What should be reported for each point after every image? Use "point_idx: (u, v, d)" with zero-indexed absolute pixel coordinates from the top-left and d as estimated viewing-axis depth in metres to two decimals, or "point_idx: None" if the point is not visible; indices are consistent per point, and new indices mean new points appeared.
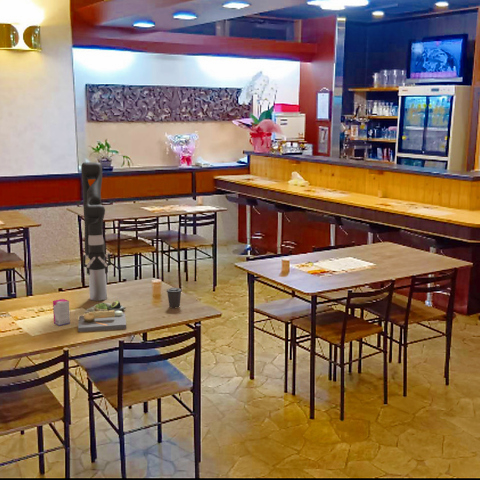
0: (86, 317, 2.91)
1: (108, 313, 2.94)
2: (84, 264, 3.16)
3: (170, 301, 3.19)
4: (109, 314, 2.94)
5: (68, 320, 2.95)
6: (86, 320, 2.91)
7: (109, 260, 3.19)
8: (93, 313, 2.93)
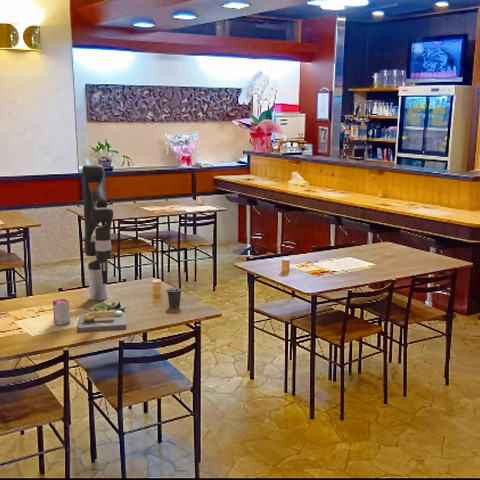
0: (86, 317, 2.91)
1: (108, 313, 2.94)
2: None
3: (170, 301, 3.19)
4: (109, 314, 2.94)
5: (68, 320, 2.95)
6: (86, 320, 2.91)
7: None
8: (93, 313, 2.93)
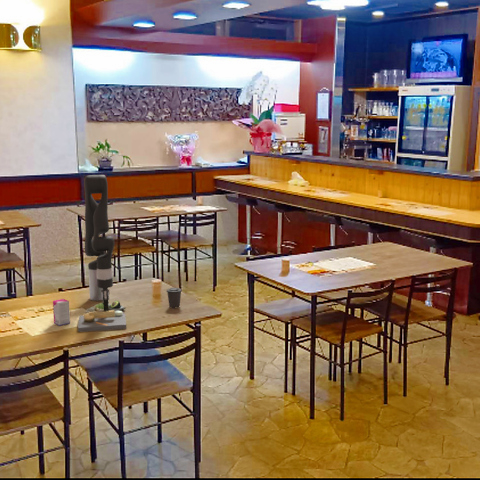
0: (86, 317, 2.91)
1: (108, 313, 2.94)
2: (108, 301, 2.98)
3: (170, 301, 3.19)
4: (109, 314, 2.94)
5: (68, 320, 2.95)
6: (86, 320, 2.91)
7: None
8: (93, 313, 2.93)
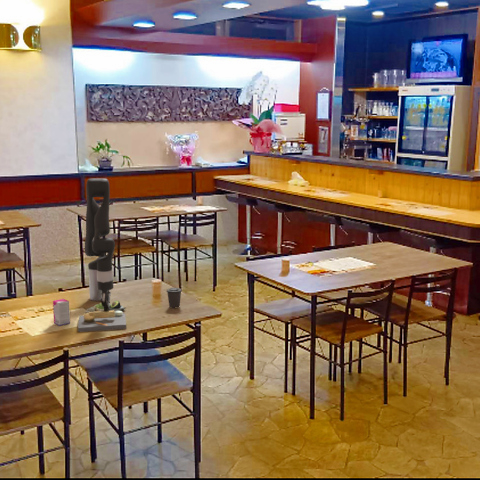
0: (86, 317, 2.91)
1: (108, 313, 2.94)
2: (107, 303, 2.94)
3: (170, 301, 3.19)
4: (109, 314, 2.94)
5: (68, 320, 2.95)
6: (86, 320, 2.91)
7: None
8: (93, 313, 2.93)
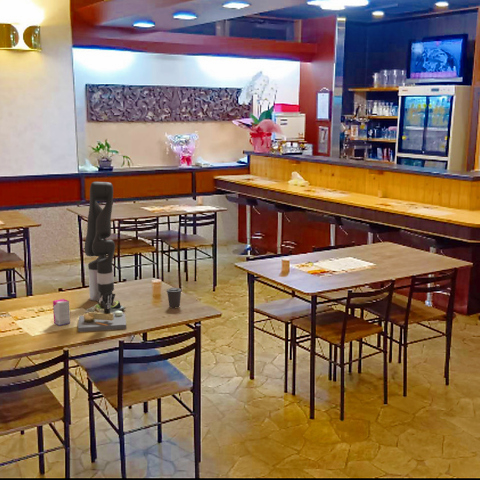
0: (84, 317, 2.91)
1: (106, 315, 2.91)
2: (106, 306, 2.91)
3: (170, 301, 3.19)
4: (107, 317, 2.91)
5: (68, 320, 2.95)
6: (84, 320, 2.92)
7: (113, 300, 2.96)
8: (92, 314, 2.92)
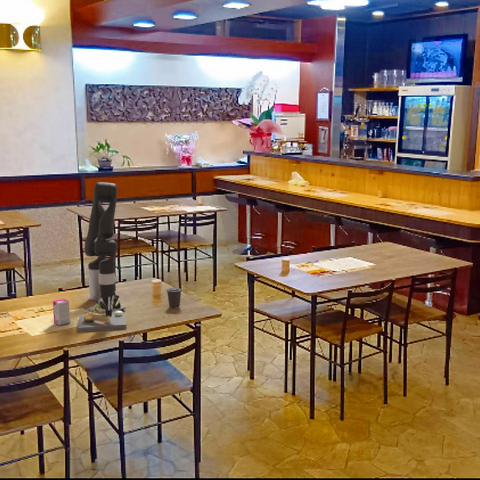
0: (84, 316, 2.92)
1: (102, 317, 2.88)
2: (106, 307, 2.90)
3: (170, 301, 3.19)
4: (103, 318, 2.88)
5: (68, 320, 2.95)
6: (84, 319, 2.92)
7: (115, 302, 2.95)
8: (91, 314, 2.91)
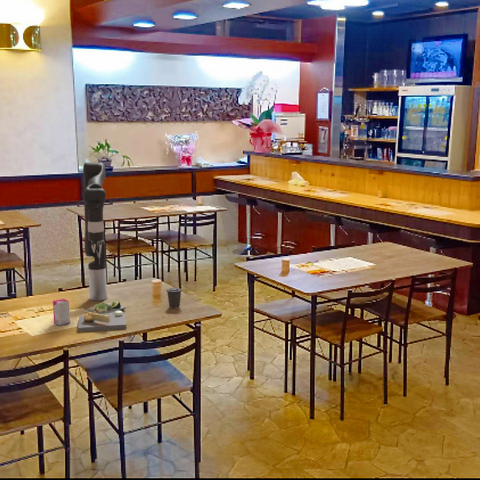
0: (84, 316, 2.92)
1: (102, 317, 2.88)
2: (98, 254, 2.94)
3: (170, 301, 3.19)
4: (103, 318, 2.88)
5: (68, 320, 2.95)
6: (84, 319, 2.92)
7: None
8: (91, 314, 2.91)
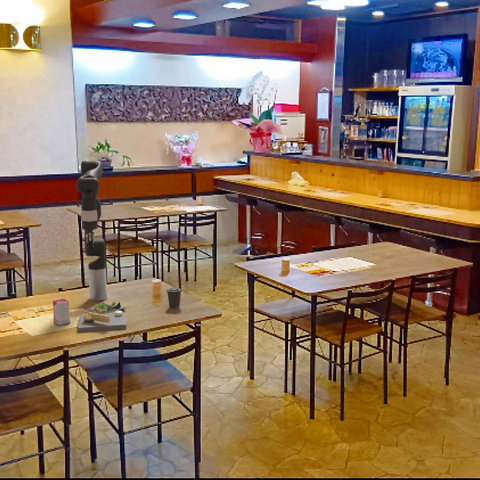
0: (84, 316, 2.92)
1: (102, 317, 2.88)
2: (93, 243, 2.97)
3: (170, 301, 3.19)
4: (103, 318, 2.88)
5: (68, 320, 2.95)
6: (84, 319, 2.92)
7: None
8: (91, 314, 2.91)
